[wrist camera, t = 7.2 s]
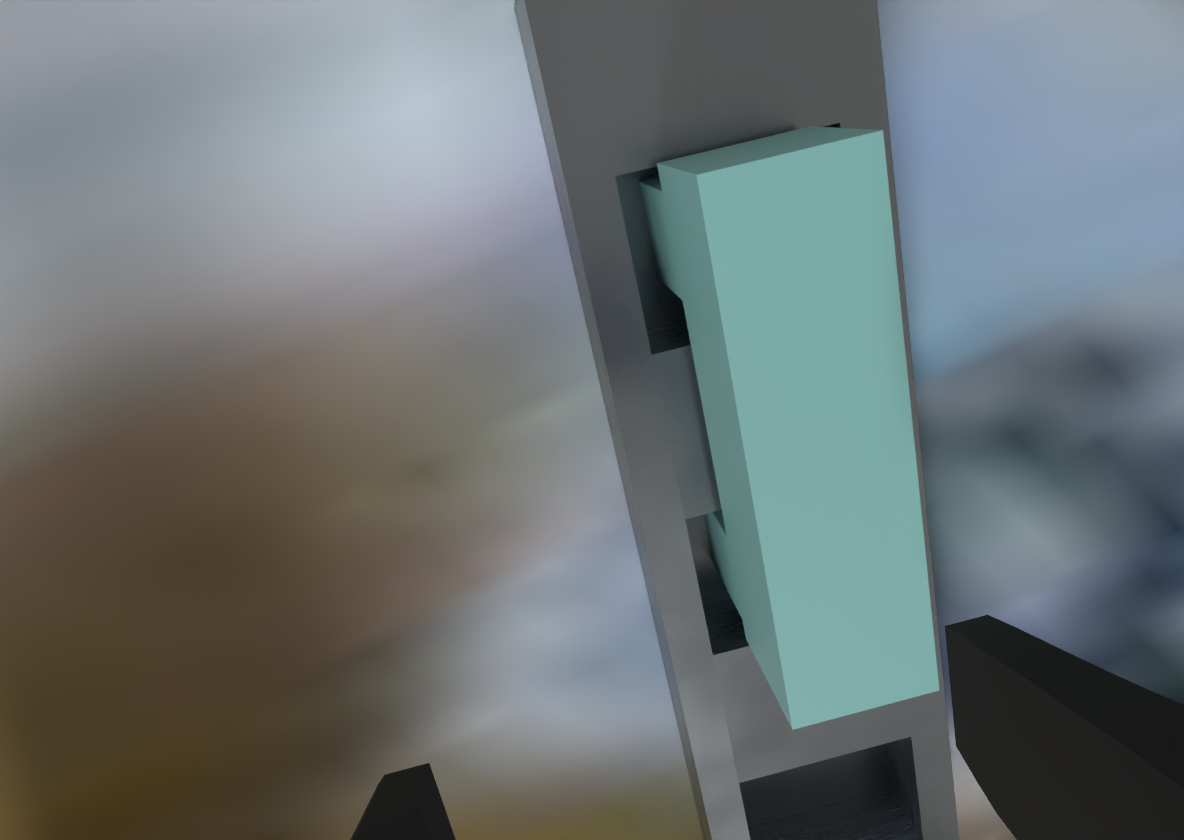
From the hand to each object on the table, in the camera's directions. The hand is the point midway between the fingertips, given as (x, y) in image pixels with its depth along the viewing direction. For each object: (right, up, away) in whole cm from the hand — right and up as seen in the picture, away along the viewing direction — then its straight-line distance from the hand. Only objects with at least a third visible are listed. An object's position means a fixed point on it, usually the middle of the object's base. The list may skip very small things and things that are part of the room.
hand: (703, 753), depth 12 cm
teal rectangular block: (+2, +5, +8) cm, 10 cm away
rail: (+2, +2, +10) cm, 10 cm away
